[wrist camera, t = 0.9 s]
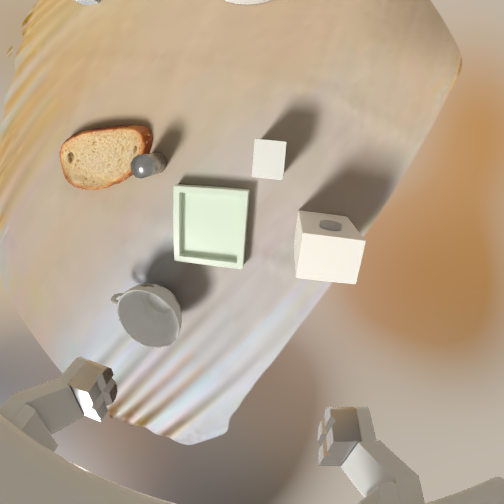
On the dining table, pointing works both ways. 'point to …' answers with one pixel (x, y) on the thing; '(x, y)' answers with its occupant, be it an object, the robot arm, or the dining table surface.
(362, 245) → the cream tall block
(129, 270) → the dining table surface
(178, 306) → the teacup
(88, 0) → the medicine box
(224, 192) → the tray
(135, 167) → the cylinder
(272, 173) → the teal band cartridge
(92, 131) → the bread slice
